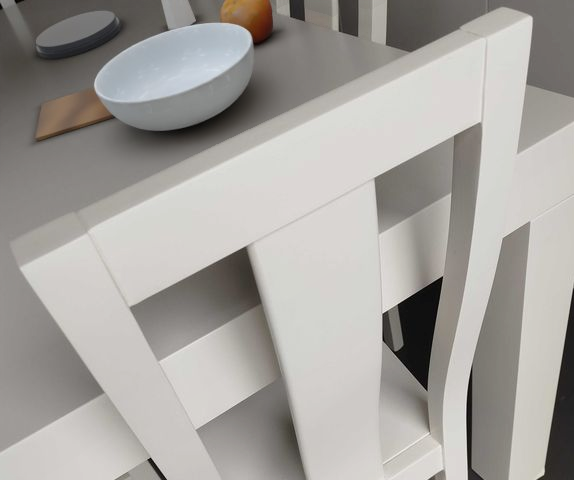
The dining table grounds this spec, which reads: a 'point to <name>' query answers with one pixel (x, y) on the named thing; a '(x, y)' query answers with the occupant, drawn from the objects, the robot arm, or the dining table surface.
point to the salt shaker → (178, 13)
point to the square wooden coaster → (71, 113)
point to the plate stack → (77, 34)
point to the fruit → (249, 16)
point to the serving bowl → (178, 76)
